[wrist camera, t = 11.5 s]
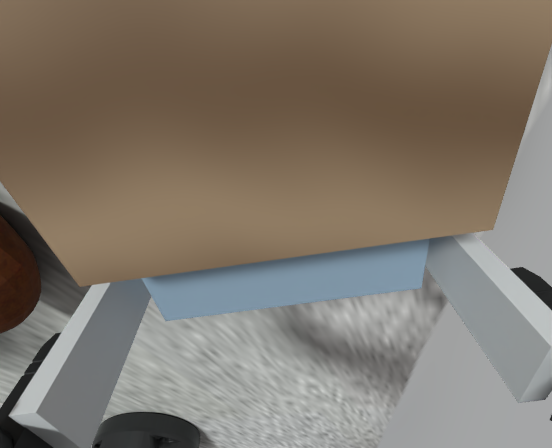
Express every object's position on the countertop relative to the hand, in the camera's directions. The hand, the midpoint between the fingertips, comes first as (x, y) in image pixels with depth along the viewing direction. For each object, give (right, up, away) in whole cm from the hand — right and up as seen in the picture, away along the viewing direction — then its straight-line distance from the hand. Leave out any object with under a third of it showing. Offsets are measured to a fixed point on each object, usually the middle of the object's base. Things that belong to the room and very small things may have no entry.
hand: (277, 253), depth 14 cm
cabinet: (-1, +9, +6) cm, 11 cm away
